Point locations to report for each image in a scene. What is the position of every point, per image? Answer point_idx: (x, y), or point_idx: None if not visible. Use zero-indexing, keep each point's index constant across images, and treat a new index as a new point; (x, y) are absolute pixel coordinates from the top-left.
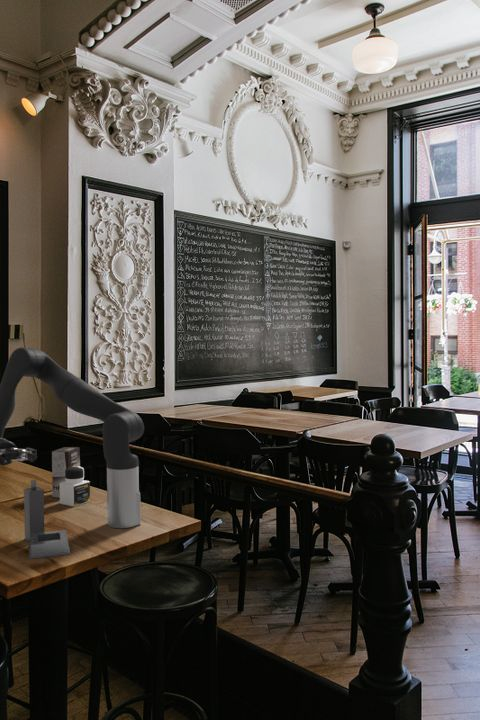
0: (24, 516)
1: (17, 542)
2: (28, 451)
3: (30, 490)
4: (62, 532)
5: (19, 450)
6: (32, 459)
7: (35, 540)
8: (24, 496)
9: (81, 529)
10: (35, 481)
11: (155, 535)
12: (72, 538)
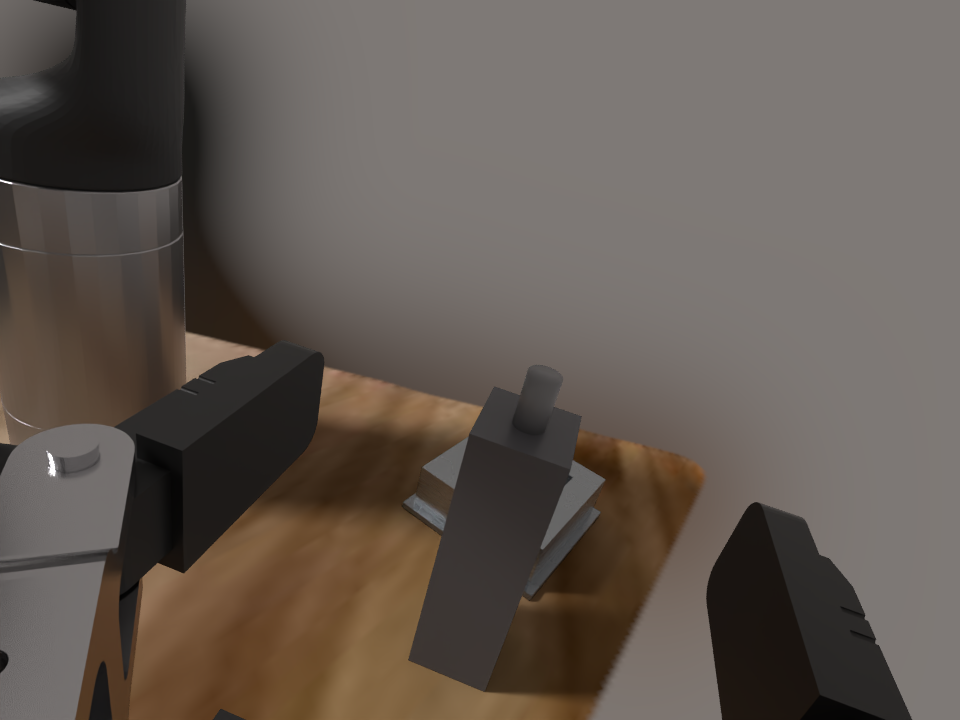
0: (517, 606)
1: (538, 686)
2: (65, 474)
3: (561, 423)
4: (452, 462)
5: (88, 667)
6: (315, 406)
7: (571, 490)
8: (555, 505)
9: (234, 543)
10: (539, 370)
11: (228, 342)
12: (363, 511)
